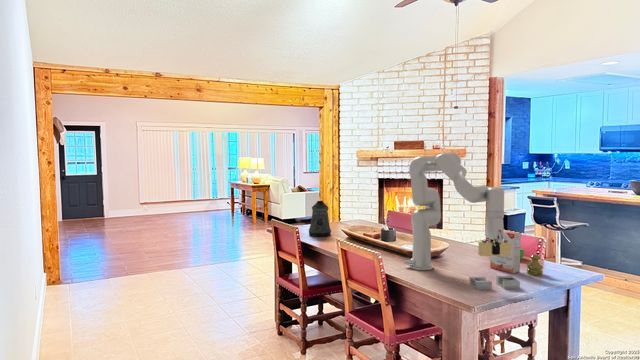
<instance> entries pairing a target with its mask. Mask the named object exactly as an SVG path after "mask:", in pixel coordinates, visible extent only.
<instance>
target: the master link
mask: <svg viewBox="0 0 640 360" xmlns="http://www.w3.org/2000/svg"><path fill="white" fill-rule="evenodd" d="M493 246H494V241H492V242H489V241H487V240H485V239H482V240H481V241H478V251H477V252H478V255H479V256H481V257H488V256H489V257H490V256H504V255H511V242H509V241H508V240H503V241H502V243H501V244H500V254H499V255H493Z"/></svg>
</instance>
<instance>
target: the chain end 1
mask: <svg viewBox="0 0 640 360" xmlns="http://www.w3.org/2000/svg"><path fill="white" fill-rule="evenodd" d="M468 282H469V283H468V284H469V285H470V286H471V287H472V288H473V289H475V290H476V291H486V290H487V291H489V290H491V291H492V290H493V282H492V281H491V280H487V278H486V277H485V276H469V277H468Z"/></svg>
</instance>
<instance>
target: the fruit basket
mask: <svg viewBox="0 0 640 360" xmlns="http://www.w3.org/2000/svg"><path fill="white" fill-rule="evenodd" d="M521 243H522V242H521ZM521 243H520V260H522V259H523V257H524V255H525V253H526V250H524V249H522V245H521Z"/></svg>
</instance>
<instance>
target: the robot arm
mask: <svg viewBox="0 0 640 360" xmlns="http://www.w3.org/2000/svg"><path fill="white" fill-rule="evenodd" d="M408 169H409V177H410V184H411V186H410V188H411V196H412V199H411V200H412V203H413V204H414V206H416V207H425V208H420V209H417V210H415V211H413V212H412V214H411V216H410V220H411V226H412V227H411V228H412V257H411V258H410V259H408V260H407V259H404V260H403V264H404V265H409V268H410V269H412V270H416V271H431V270H433V269H434V267H435V266H434V264H432V263H431V261H432V254H431V253H432V233H431V230H430V226H435V225H438V224H439V223H440V221H441V219H442V213H441V210H442V209H441V198H440V194H439V192H438V191H437V190H436V189H435V188H433V187H428V179H427V176H426V174H425V173H427V172H428V173H430V172H431V173H432V172H442V173H443V174H445V176H446V177H448V178H449V180H451V181H452V182H453V186H454V188H455V190H456V191H457V193H458V194H459V195H460V196H461V197H463V199H464V200H466V201H468V202H469V203H473V204H476V203H483V202H484V203H485V202H486V212H485V213H486V215H485V216H486V219H485V226H484V227H485V228H484V236H485V237H486V238H488V242H492V241H494V246H493V255H499V254H500V244H501V243H502V239H503V237H504V230H505V228H504V227H505V226H504V217H505V189H504V188H503V187H498V186H497V187H496V186H495V187H494V186H493V187H491V186H486V185H476V186H475V185H472V184H471V183H470V182H469V181H468V180H467V179H466V176H467V169H466V168H465V167H464V166H463V165H462V160H461V157H460V155H459V154H457V153H455V152H441V153H440V154H438V155H437V154H436V155H420V156H417V157H414V159H412V161H411V162H410V163H409V168H408ZM496 238H498V239H496Z"/></svg>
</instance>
